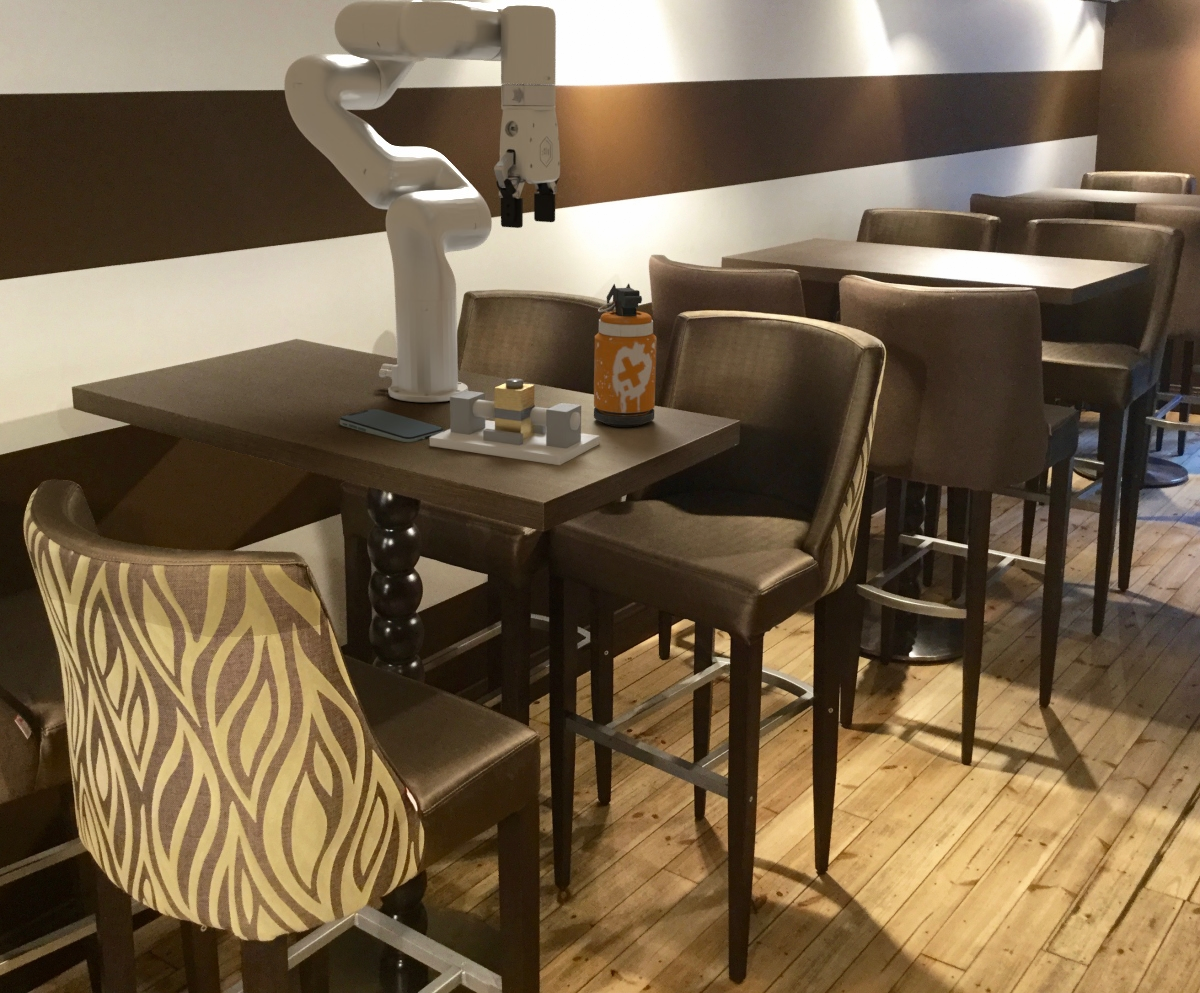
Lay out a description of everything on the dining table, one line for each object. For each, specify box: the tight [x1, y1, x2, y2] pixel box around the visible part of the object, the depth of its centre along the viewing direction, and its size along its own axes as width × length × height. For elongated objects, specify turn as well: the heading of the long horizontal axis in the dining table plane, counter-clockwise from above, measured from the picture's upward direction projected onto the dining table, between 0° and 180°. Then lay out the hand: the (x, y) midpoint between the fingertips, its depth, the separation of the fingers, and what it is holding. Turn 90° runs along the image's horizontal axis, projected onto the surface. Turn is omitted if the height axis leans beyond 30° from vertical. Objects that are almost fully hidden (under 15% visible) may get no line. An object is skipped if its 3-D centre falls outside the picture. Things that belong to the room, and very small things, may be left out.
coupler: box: [494, 378, 536, 440], centre depth 174 cm, size 4×4×8 cm
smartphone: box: [339, 408, 445, 443], centre depth 183 cm, size 8×2×15 cm
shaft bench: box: [428, 390, 601, 466], centre depth 175 cm, size 20×12×6 cm, turn 64°
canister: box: [593, 283, 657, 428], centre depth 187 cm, size 9×11×20 cm
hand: (528, 224), depth 182 cm, fingers open, 9 cm apart
